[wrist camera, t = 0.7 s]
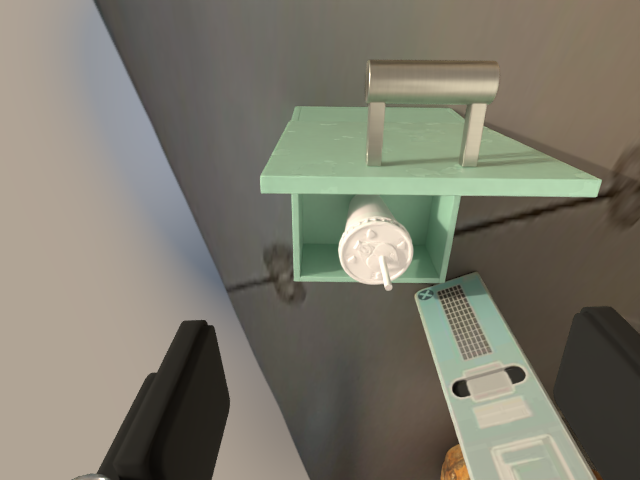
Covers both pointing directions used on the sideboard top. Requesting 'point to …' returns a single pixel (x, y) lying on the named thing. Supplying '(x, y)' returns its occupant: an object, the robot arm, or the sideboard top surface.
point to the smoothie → (374, 243)
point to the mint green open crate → (409, 210)
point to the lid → (419, 143)
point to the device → (494, 389)
